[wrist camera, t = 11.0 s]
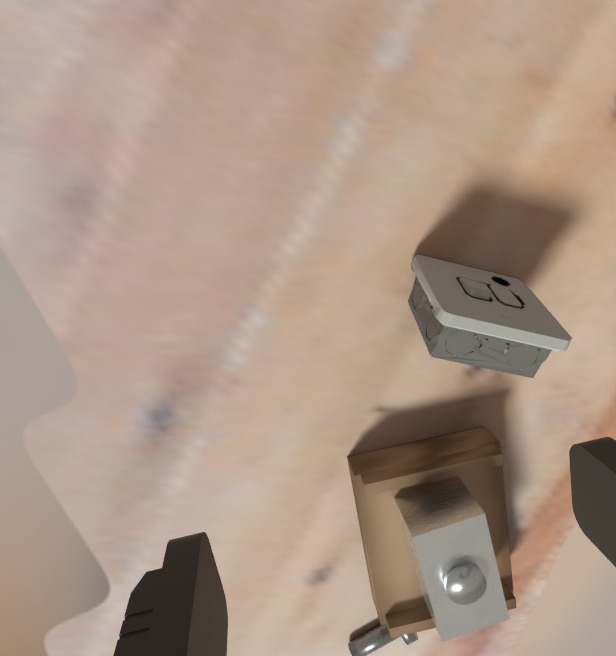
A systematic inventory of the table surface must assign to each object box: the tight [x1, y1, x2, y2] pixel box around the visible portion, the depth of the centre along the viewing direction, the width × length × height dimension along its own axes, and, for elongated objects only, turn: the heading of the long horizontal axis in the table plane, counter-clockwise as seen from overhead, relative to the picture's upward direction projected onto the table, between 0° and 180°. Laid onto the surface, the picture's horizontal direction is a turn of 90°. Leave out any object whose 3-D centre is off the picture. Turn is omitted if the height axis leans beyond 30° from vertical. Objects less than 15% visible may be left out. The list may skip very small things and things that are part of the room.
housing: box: [394, 476, 509, 642], centre depth 42 cm, size 6×10×6 cm, turn 17°
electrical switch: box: [408, 255, 572, 378], centre depth 38 cm, size 9×5×9 cm, turn 76°
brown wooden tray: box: [347, 426, 516, 638], centre depth 45 cm, size 12×15×4 cm
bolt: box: [348, 624, 418, 656], centre depth 49 cm, size 6×3×3 cm, turn 120°
